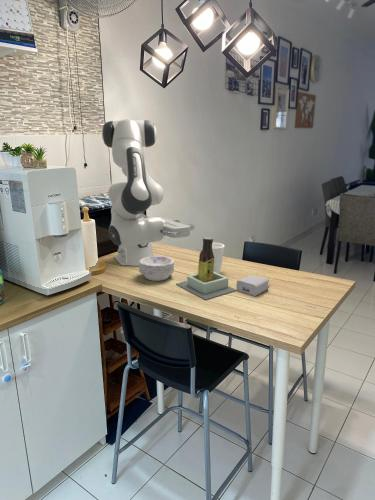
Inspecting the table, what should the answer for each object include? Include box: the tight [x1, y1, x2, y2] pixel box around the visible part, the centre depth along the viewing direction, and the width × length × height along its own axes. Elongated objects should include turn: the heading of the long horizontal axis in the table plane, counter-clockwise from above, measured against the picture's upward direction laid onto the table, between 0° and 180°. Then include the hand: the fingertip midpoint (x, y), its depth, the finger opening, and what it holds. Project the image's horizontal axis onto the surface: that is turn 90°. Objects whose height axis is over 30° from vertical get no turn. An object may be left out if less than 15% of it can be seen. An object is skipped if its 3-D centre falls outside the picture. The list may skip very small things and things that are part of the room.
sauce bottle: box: [197, 236, 214, 283], centre depth 157 cm, size 6×6×20 cm
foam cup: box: [212, 242, 225, 275], centre depth 174 cm, size 10×9×13 cm
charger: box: [236, 274, 270, 297], centre depth 158 cm, size 5×9×15 cm
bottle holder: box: [186, 272, 229, 294], centre depth 158 cm, size 11×12×4 cm
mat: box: [175, 280, 238, 301], centre depth 158 cm, size 20×16×1 cm
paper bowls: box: [138, 255, 175, 282], centre depth 169 cm, size 15×15×8 cm
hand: (185, 224), depth 145 cm, fingers open, 8 cm apart
